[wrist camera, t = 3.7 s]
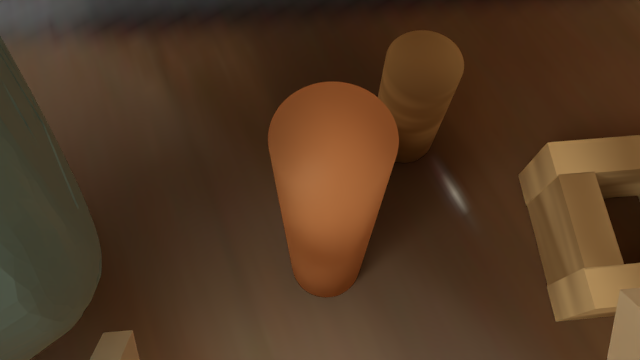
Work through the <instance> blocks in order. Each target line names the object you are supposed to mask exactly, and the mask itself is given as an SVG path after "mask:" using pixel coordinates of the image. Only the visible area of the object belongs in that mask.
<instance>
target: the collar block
mask: <svg viewBox="0 0 640 360" xmlns="http://www.w3.org/2000/svg"><path fill="white" fill-rule="evenodd" d="M518 177H519V181H520V185H521V189H522V192H523V196H524V200H525V204H526V205H527V207H528V211H529V215H530V219H531V223H532V227H533V231H534V234H535V238H536V242H537V246H538V250H539V254H540V258H541V262H542V265H543V269H544V273H545V277H546V281H547V285H548V286H547V290H548V294H549V297H550V301H551V305H552V309H553V313H554V317H555V321H556V322H557V321H567V320H578V319H589V318H599V317H610V316H615V314H616V308H617V303H618V298H619V292H620V289H631V288H640V263H633V264H624V262H623V259H622V256H621V253H620V250H619V247H618V243H617V240H616V237H615V234H614V231H613V228H612V225H611V221H610V218H609V215H608V212H607V209H606V206H605V203H604V200H603V198H614V197H626V196H638V198H639V200H640V135H633V136H621V137H609V138H596V139H584V140H572V141H560V142H547V143H546V145H545V146H544V147H543V148H542V149H541V150H540V151H539V152H538V154H537V155H536V156H535V157H534V158H533V159H532V160H531V161H530V163H529V164H528V165H527V166H526V167H525V168H524V169H523V170H522V171H521V173H520V174H519V175H518Z"/></svg>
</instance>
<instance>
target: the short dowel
mask: <svg viewBox="0 0 640 360" xmlns="http://www.w3.org/2000/svg"><path fill="white" fill-rule="evenodd" d="M463 72H464V59H463V56H462V53H461V51H460V50H459V48H458V47H457V46H456V44H455V43H454V42H453V41H451V40H450V39H449V38H447V37H446V36H444V35H442V34H440V33H437V32H434V31H428V30H416V31H411V32H407V33H405V34H403V35H401V36H399V37H398V38H396V39H395V40H394V41H393V42H392V43H391V45H390V46H389V48H388V50H387V53H386V58H385V63H384V68H383V73H382V78H381V83H380V88H379V94H378V98H379V99H380V100H381V101H382V102H383V103H384V104H385V105H386V106H387V108H388V109H389V110H390V112H391V114H392V116H393V117H394V120H395V122H396V125H397V129H398V136H399V147H398V152H397V156H396V159H395V162H399V163H408V162H413V161H416V160H418V159H420V158H422V157H423V156H424V155H425V154H426V153H427V152H428V151H429V149H430V147H431V145H432V143H433V140H434V138H435V136H436V134H437V131H438V129H439V127H440V125H441V122H442V120H443V118H444V116H445V113H446V111H447V109H448V107H449V104H450V102H451V100H452V98H453V95H454V93H455V91H456V89H457V86H458V84H459V82H460V80H461V77H462V75H463Z"/></svg>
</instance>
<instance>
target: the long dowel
mask: <svg viewBox="0 0 640 360" xmlns="http://www.w3.org/2000/svg"><path fill="white" fill-rule="evenodd" d="M268 147H269V153H270V158H271V163H272V168H273V173H274V178H275V183H276V189H277V194H278V199H279V204H280V209H281V214H282V219H283V224H284V229H285V234H286V239H287V244H288V249H289V254H290V260H291V265H292V270H293V274H294V276H295V279H296V280H297V282H298V283H299V285H300V286H301V287H302V288H303V289H304V290H306V291H307V292H309V293H310V294H313V295H315V296H319V297H334V296H337V295H340V294H342V293H344V292H345V291H347V290H348V289H349V288H350V287H351V286H352V285H353V284H354V282H355V281H356V279H357V277H358V274H359V271H360V268H361V265H362V261H363V258H364V255H365V252H366V249H367V246H368V243H369V240H370V237H371V234H372V230H373V227H374V224H375V221H376V218H377V215H378V212H379V209H380V206H381V203H382V199H383V196H384V193H385V190H386V187H387V184H388V181H389V178H390V175H391V172H392V168H393V165H394V162H395V159H396V156H397V152H398V147H399V136H398V129H397V125H396V122H395V120H394V117H393V116H392V114H391V112H390V110H389V109H388V108H387V106H386V105H385V104H384V103H383V102H382V101H381V100H380V99H379V98H378V97H376V96H375V95H374V94H372V93H371V92H369V91H368V90H366V89H364V88H361V87H359V86H356V85H353V84H349V83H344V82H321V83H316V84H312V85H309V86H306V87H304V88H302V89H300V90H298V91H296V92H295V93H293V94H292V95H290V96H289V97H288V98H287V99H286V100H284V102H283V103H282V104H281V105H280V106H279V107H278V109H277V110H276V112H275V114H274V116H273V118H272V120H271V123H270V126H269V132H268Z"/></svg>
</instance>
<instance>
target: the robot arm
mask: <svg viewBox="0 0 640 360" xmlns="http://www.w3.org/2000/svg"><path fill="white" fill-rule="evenodd" d="M101 270H102V253H101V247H100V242H99V238H98V235H97V231H96V228H95V225H94V222H93V220H92V217H91V215H90V212H89V209H88V207H87V204H86V202H85V199H84V197H83V195H82V193H81V190H80V188H79V186H78V184H77V182H76V179H75V177H74V175H73V173H72V171H71V169H70V167H69V165H68V163H67V161H66V158H65V156H64V154H63V152H62V150H61V148H60V146H59V144H58V143H57V141H56V139H55V137H54V135H53V133H52V131H51V129H50V127H49V125H48V123H47V121H46V119H45V117H44V115H43V113H42V111H41V109H40V108H39V106H38V104H37V102H36V100H35V98H34V96H33V94H32V92H31V91H30V89H29V87H28V85H27V83H26V81H25V79H24V78H23V76H22V74H21V72H20V70H19V69H18V67H17V65H16V63H15V61H14V60H13V58H12V56H11V54H10V52H9V51H8V49H7V47H6V45H5V44H4V42H3V40H2V38H1V36H0V360H30V359H31V358H32V357H34V356H35V355H37V354H38V353H39V352H41V351H42V350H43V349H45V348H46V347H48V346H49V345H50V344H52V343H53V342H54V341H56V340H57V339H59V338H60V337H61V336H63V335H64V334H65V333H67V332H68V331H69V330H71V329H72V328H73V326H74V325H75V324H76V323H77V322H78V320H79V319H80V318H81V317H82V316H83V312H84V311H85V309H86V308H87V306H88V305H89V303H90V302H91V300H92V298H93V295H94V293H95V290H96V288H97V285H98V282H99V280H100V277H101ZM90 360H140V359H139V355H138V351H137V346H136V342H135V338H134V334H133V330H128V331H116V332H104V333H103V334H102V336H101V338H100V340H99V342H98V344H97V346H96V348H95V350H94V352H93V354H92V356H91V358H90ZM607 360H640V288H631V289H620V292H619V298H618V303H617V308H616V314H615V319H614V324H613V330H612V335H611V340H610V346H609V351H608V356H607Z"/></svg>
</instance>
